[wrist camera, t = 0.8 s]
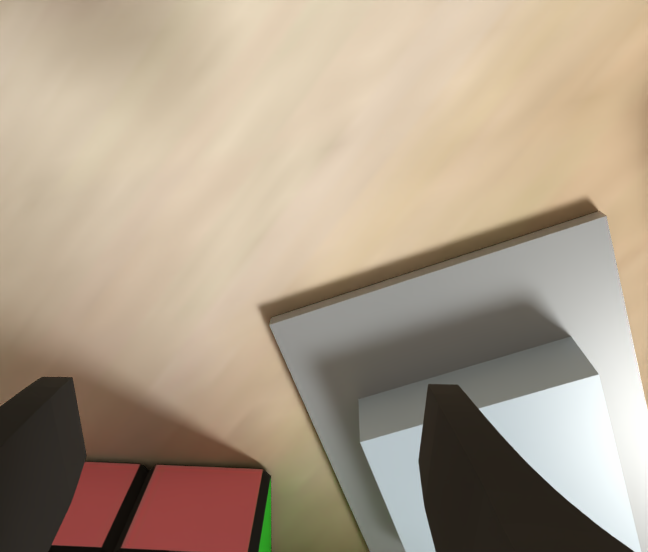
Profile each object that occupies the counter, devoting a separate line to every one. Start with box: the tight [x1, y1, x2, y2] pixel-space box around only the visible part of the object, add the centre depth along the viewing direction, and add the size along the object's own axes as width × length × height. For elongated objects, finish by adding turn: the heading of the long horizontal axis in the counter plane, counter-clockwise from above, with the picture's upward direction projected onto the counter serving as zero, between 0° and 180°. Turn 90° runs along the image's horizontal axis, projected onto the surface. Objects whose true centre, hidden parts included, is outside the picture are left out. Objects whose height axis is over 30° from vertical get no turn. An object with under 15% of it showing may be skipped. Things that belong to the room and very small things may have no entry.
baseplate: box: [269, 211, 648, 552], centre depth 24 cm, size 16×12×1 cm
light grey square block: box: [358, 337, 641, 552], centre depth 23 cm, size 8×8×3 cm
